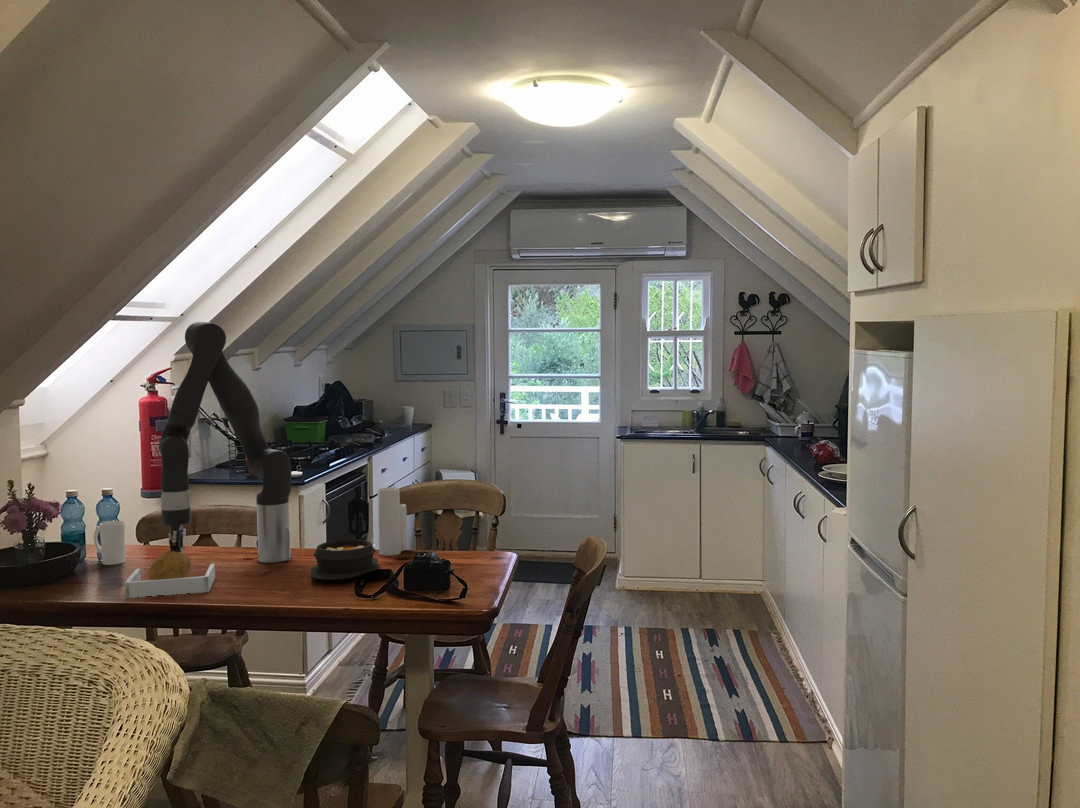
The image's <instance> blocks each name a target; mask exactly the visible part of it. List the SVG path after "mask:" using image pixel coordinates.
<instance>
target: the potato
mask: <svg viewBox="0 0 1080 808" xmlns="http://www.w3.org/2000/svg"><path fill="white" fill-rule="evenodd" d="M151 563H152V564H151V565H150V567H149V573H148V574H149V580H160V579H174V578H187V576H188V575H189V573H190V571H191V569H192V568H191V567H192V561H191V559H190V557H189V556H188V555H187V554H186V553H185V552H184V553H181V552H175V551H171V550H167V551H165V552H163V553H161V554H159V555H157V557H156V559H154V561H152V562H151Z"/></svg>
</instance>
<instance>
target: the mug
mask: <svg viewBox="0 0 1080 808" xmlns="http://www.w3.org/2000/svg"><path fill="white" fill-rule="evenodd" d="M125 526H126V524H125V521H124V520H110V521H103V522H101V523H99V525H95V529H94V532H93V544H94V547H95V549H96V552H97V554H98V553H100V554H101V563H102V565H105V566H116V565H120V564H124V563H125V562H126V527H125ZM98 536H99V537H100V543H99V539H98Z"/></svg>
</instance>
